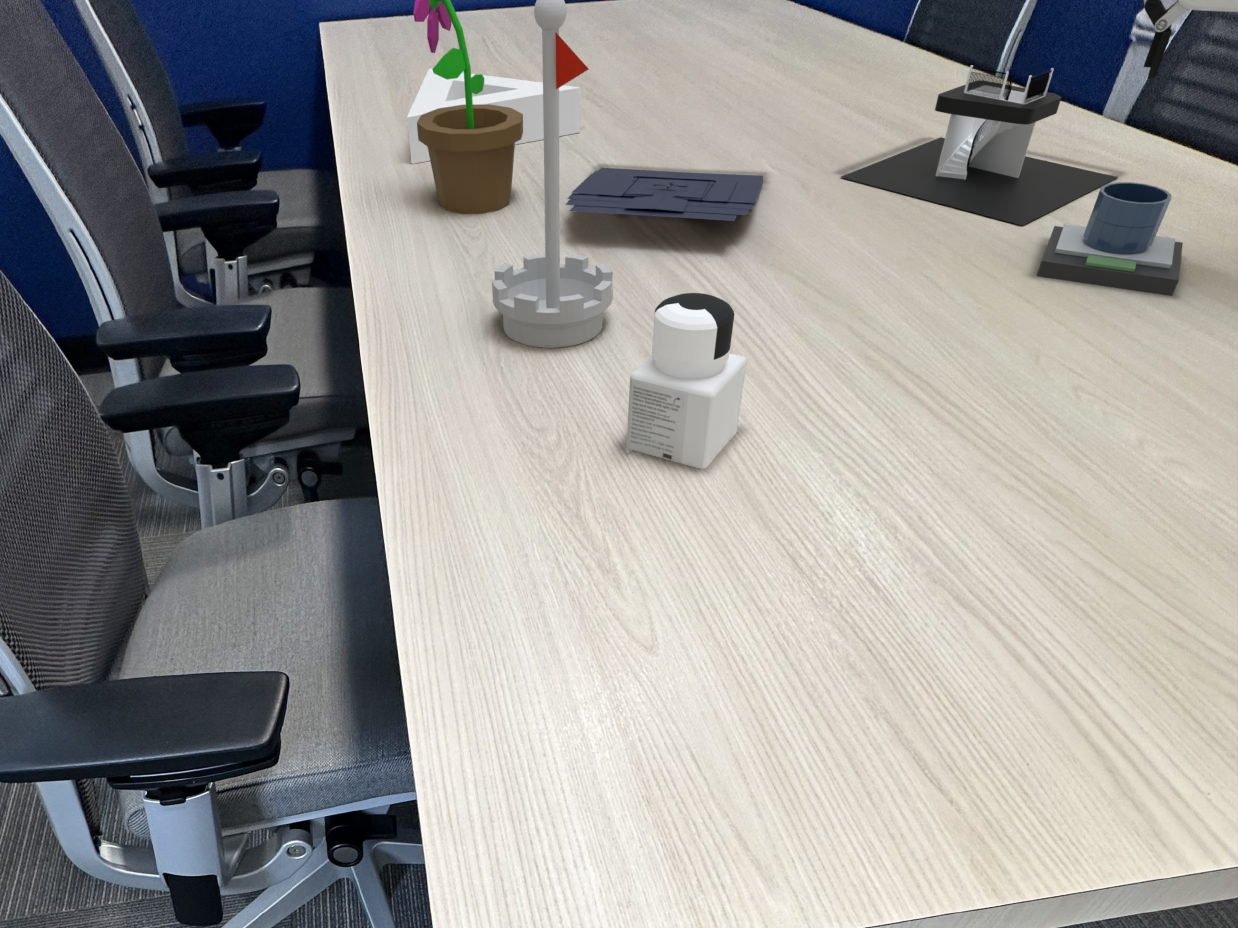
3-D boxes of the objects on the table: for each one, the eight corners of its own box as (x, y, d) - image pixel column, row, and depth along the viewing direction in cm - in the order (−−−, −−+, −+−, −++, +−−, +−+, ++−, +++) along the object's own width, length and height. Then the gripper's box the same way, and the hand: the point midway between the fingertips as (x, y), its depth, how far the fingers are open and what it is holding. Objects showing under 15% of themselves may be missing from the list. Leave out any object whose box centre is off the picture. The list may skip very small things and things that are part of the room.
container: (661, 416, 91) (672, 277, 82) (737, 436, 89) (757, 294, 79) (624, 454, 87) (631, 311, 78) (703, 476, 84) (720, 330, 75)
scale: (1173, 263, 114) (1185, 237, 112) (1169, 302, 106) (1181, 275, 104) (1047, 246, 118) (1056, 221, 116) (1034, 281, 111) (1043, 256, 109)
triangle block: (432, 110, 169) (429, 68, 164) (580, 107, 168) (580, 64, 163) (411, 164, 148) (406, 117, 143) (580, 161, 147) (580, 113, 142)
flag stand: (470, 324, 107) (446, -7, 86) (558, 291, 113) (556, -27, 91) (546, 363, 100) (541, 12, 78) (636, 326, 105) (654, -11, 84)
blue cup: (1151, 237, 112) (1172, 186, 108) (1148, 258, 108) (1170, 207, 104) (1085, 228, 114) (1103, 179, 111) (1078, 249, 110) (1097, 198, 106)
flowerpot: (448, 181, 142) (427, -80, 120) (539, 189, 138) (535, -79, 117) (407, 213, 132) (378, -63, 111) (504, 223, 129) (493, -61, 107)
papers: (553, 234, 122) (554, 202, 120) (598, 187, 145) (600, 160, 142) (746, 246, 117) (751, 213, 115) (762, 196, 140) (766, 168, 138)
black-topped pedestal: (839, 177, 138) (860, 69, 129) (940, 138, 150) (965, 35, 140) (1022, 226, 123) (1060, 107, 114) (1118, 178, 135) (1160, 66, 125)
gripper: (1403, -150, 85) (1301, 76, 97) (1183, -147, 91) (1113, 66, 103) (1412, -143, 80) (1304, 94, 92) (1180, -140, 87) (1107, 82, 99)
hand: (1204, 79), depth 98 cm, fingers open, 9 cm apart
